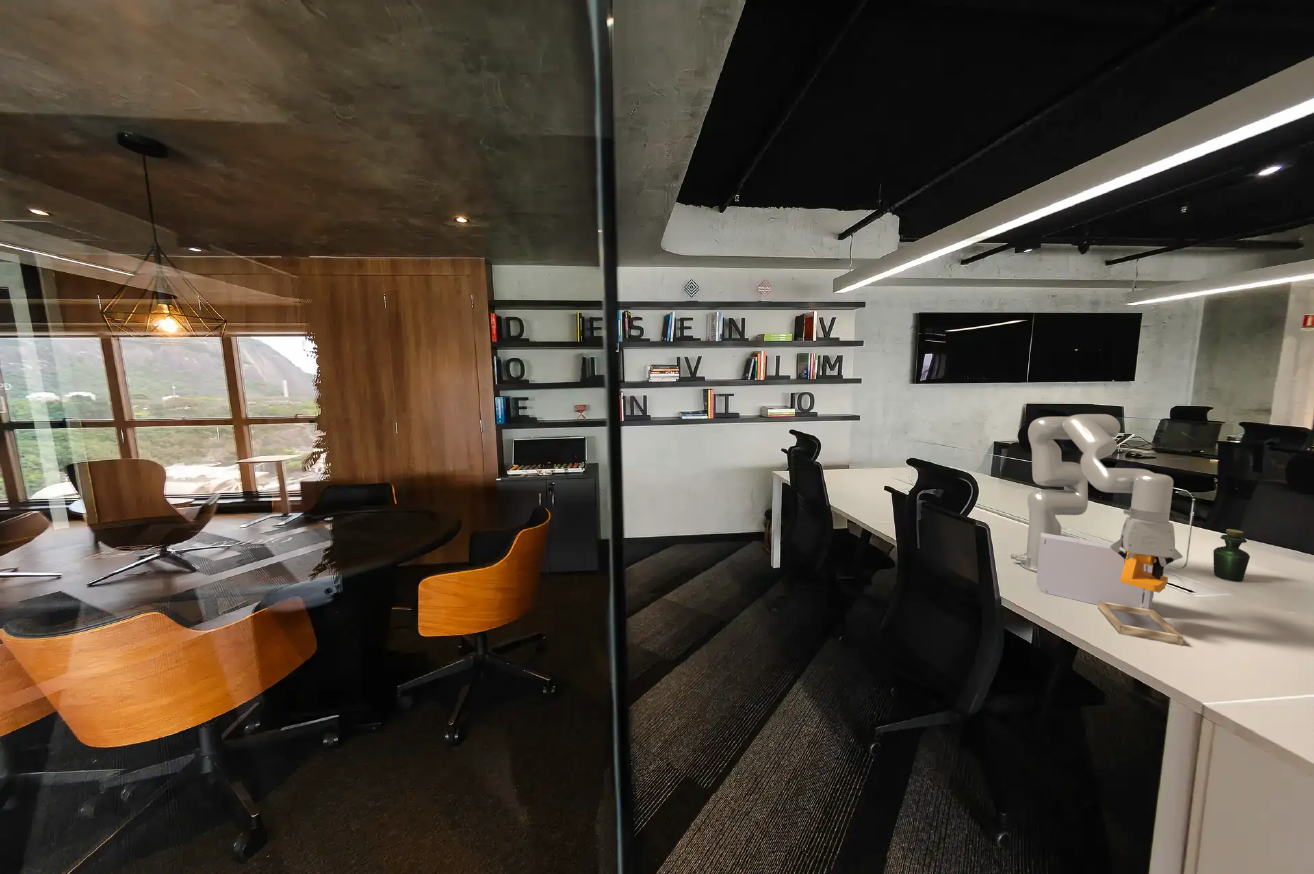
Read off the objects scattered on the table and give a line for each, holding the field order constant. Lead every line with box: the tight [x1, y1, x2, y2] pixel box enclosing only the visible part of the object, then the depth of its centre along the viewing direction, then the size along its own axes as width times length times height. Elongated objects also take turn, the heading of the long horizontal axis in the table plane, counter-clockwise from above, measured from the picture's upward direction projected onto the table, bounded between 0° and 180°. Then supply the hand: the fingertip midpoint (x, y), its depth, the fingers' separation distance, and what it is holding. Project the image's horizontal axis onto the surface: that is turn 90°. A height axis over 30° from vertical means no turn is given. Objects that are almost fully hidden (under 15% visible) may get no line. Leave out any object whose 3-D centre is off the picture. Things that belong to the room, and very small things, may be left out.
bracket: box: [1121, 552, 1169, 594], centre depth 127 cm, size 11×7×12 cm, turn 119°
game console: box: [1035, 533, 1156, 610], centre depth 144 cm, size 6×27×20 cm, turn 47°
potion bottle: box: [1212, 528, 1251, 583], centre depth 159 cm, size 8×8×18 cm
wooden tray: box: [1097, 601, 1184, 647], centre depth 130 cm, size 12×16×2 cm
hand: (1142, 575), depth 128 cm, fingers closed on bracket, 4 cm apart
